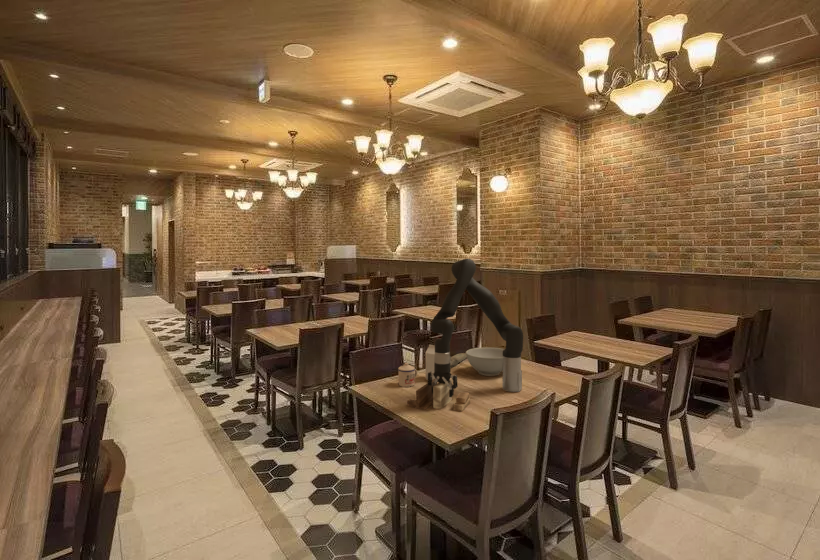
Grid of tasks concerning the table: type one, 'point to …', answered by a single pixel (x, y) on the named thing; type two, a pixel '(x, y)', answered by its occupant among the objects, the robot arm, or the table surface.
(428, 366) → the milk carton
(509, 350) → the robot arm
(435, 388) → the pale wooden block
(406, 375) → the teacup with lid
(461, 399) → the offcut stack
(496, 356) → the decorative bowl
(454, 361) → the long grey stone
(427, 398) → the rack
